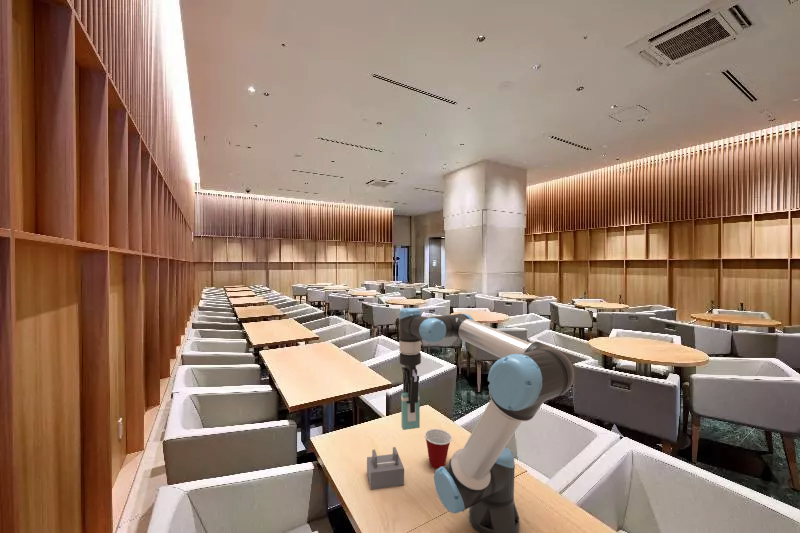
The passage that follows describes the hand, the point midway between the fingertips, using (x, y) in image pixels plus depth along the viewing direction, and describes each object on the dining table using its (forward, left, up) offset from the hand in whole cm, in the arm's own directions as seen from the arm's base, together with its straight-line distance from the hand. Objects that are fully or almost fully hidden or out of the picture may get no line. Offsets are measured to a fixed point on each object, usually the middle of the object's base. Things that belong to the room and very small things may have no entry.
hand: (410, 419), depth 125 cm
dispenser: (+7, +8, -25) cm, 27 cm away
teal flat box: (0, 0, -3) cm, 3 cm away
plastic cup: (+11, -14, -25) cm, 31 cm away
